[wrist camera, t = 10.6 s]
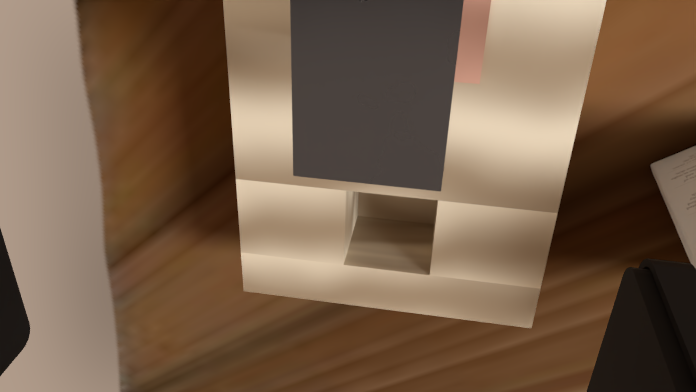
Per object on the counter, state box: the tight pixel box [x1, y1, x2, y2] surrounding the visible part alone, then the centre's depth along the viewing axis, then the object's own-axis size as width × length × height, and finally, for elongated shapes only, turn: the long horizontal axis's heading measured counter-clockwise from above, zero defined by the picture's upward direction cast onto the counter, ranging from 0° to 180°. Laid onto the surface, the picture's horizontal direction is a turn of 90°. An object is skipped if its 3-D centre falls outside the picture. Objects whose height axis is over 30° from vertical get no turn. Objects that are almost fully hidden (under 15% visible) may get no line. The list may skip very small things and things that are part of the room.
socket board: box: [223, 0, 606, 328], centre depth 32 cm, size 22×16×6 cm
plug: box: [290, 0, 464, 192], centre depth 22 cm, size 6×4×11 cm
